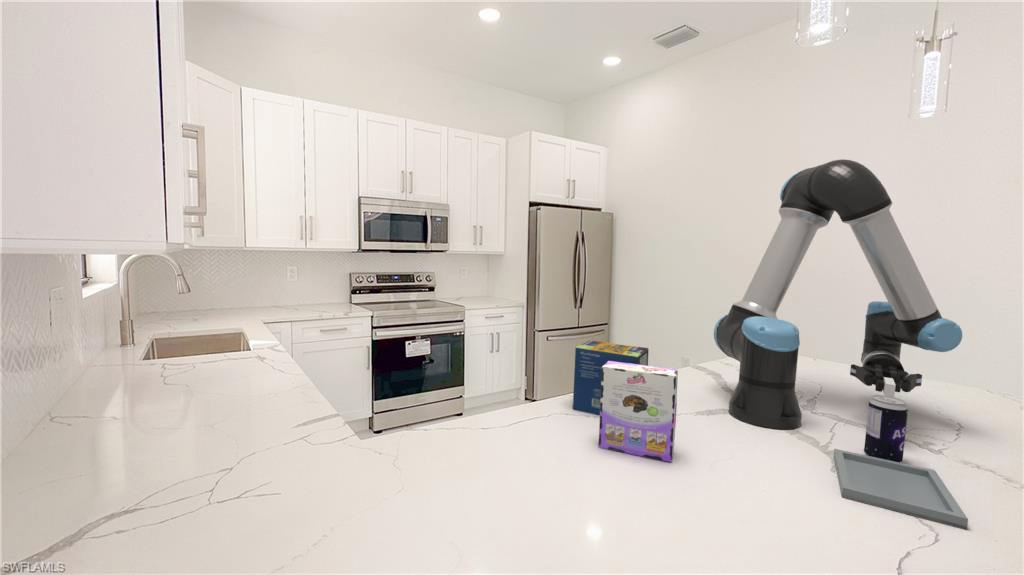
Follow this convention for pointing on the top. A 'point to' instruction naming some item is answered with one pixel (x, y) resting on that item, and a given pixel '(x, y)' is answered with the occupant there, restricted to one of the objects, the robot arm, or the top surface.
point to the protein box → (599, 370)
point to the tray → (897, 487)
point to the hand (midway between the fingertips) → (890, 391)
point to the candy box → (638, 409)
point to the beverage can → (886, 428)
